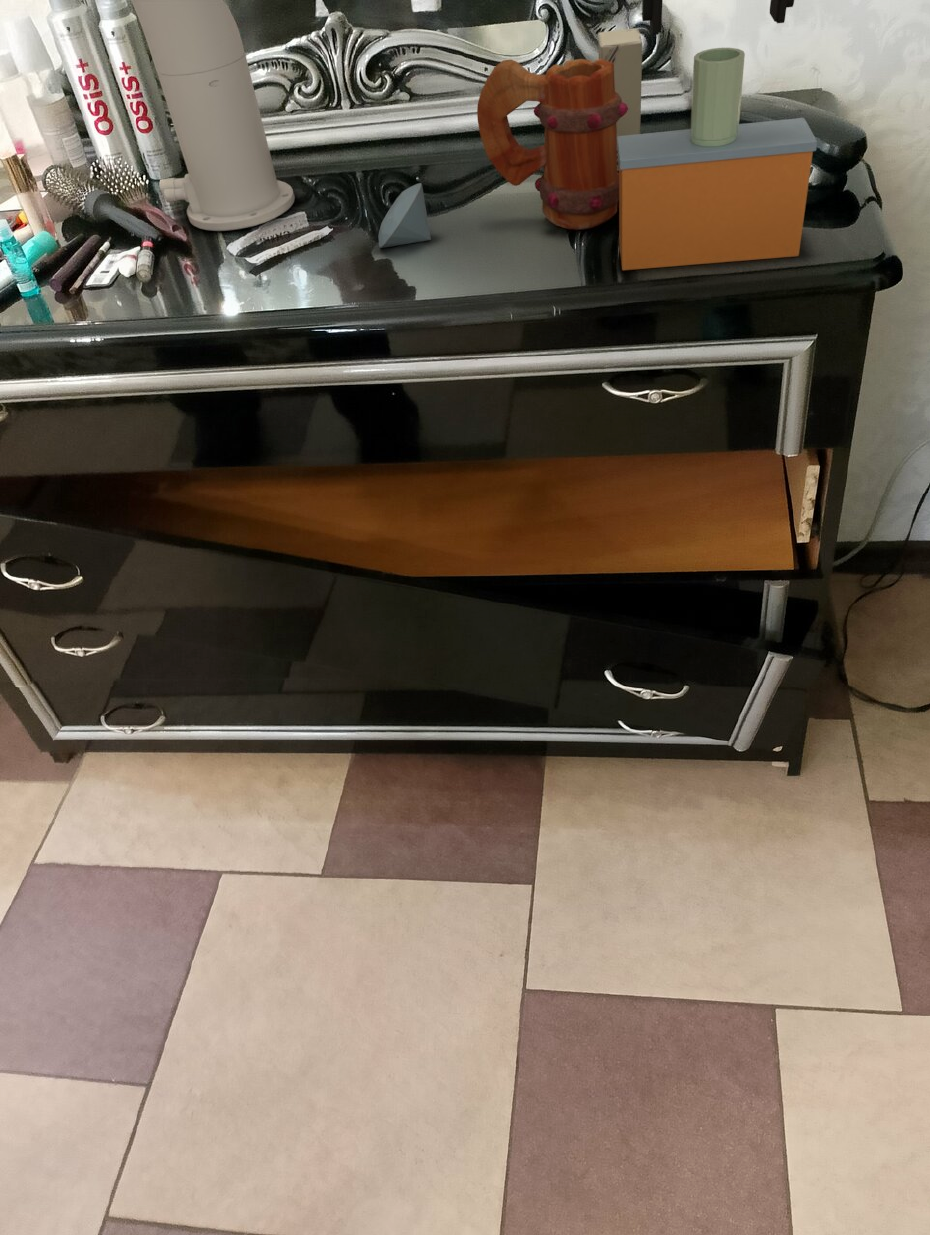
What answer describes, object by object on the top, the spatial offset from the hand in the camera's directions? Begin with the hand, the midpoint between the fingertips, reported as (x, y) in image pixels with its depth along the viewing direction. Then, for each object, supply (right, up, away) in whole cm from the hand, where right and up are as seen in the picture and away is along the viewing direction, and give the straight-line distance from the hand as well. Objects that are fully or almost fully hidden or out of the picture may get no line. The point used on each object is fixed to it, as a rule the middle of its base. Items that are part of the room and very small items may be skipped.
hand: (715, 24), depth 76 cm
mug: (-11, -7, +22) cm, 25 cm away
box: (-3, +3, +31) cm, 31 cm away
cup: (+1, -6, +6) cm, 9 cm away
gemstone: (-27, -9, +23) cm, 36 cm away
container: (+3, -13, +13) cm, 19 cm away
